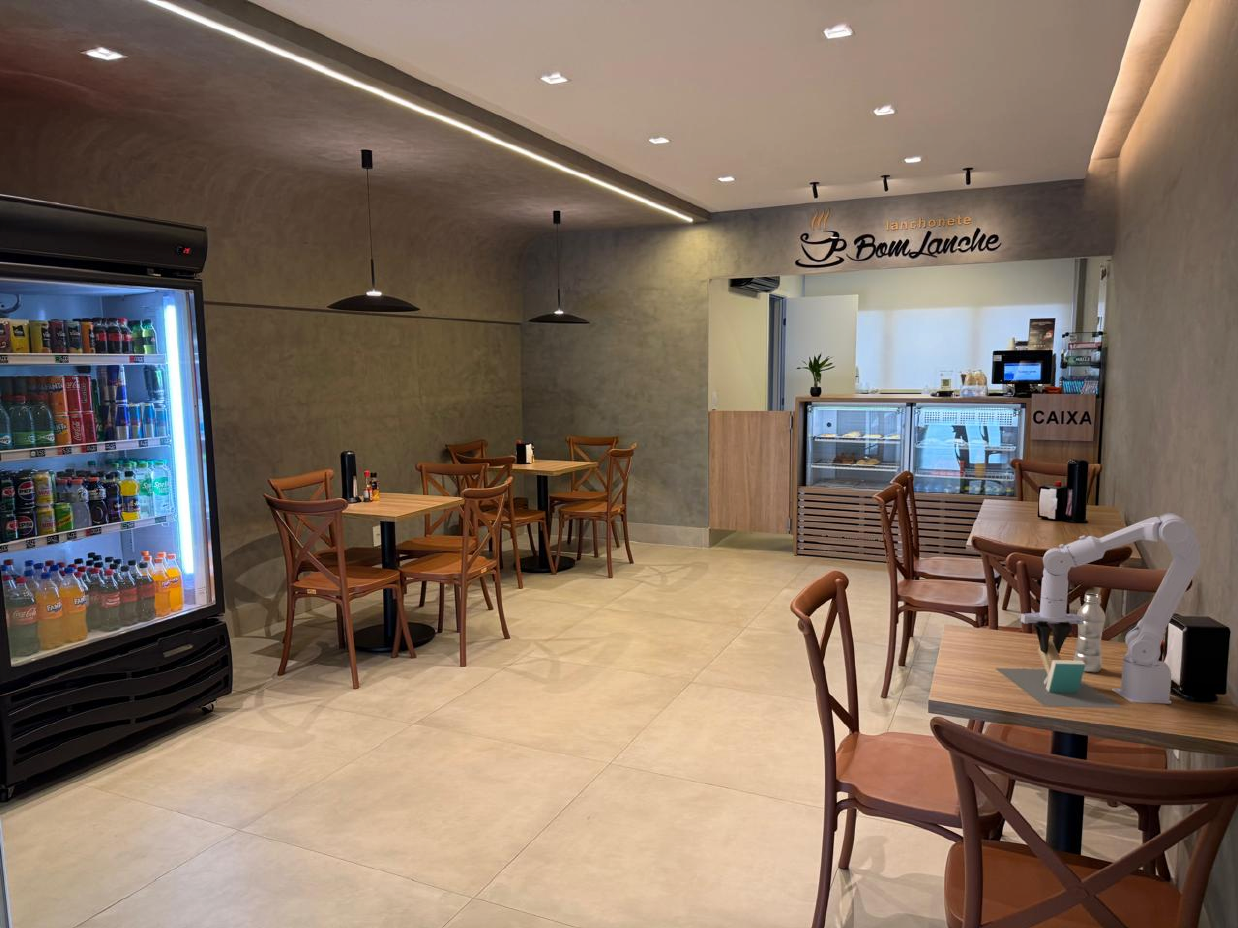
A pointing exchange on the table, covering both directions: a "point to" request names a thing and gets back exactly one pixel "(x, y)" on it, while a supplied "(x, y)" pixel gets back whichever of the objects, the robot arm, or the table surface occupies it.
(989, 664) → the table surface
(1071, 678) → the tile
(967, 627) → the table surface
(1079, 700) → the mat
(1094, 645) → the plastic bottle
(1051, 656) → the tan upright post
